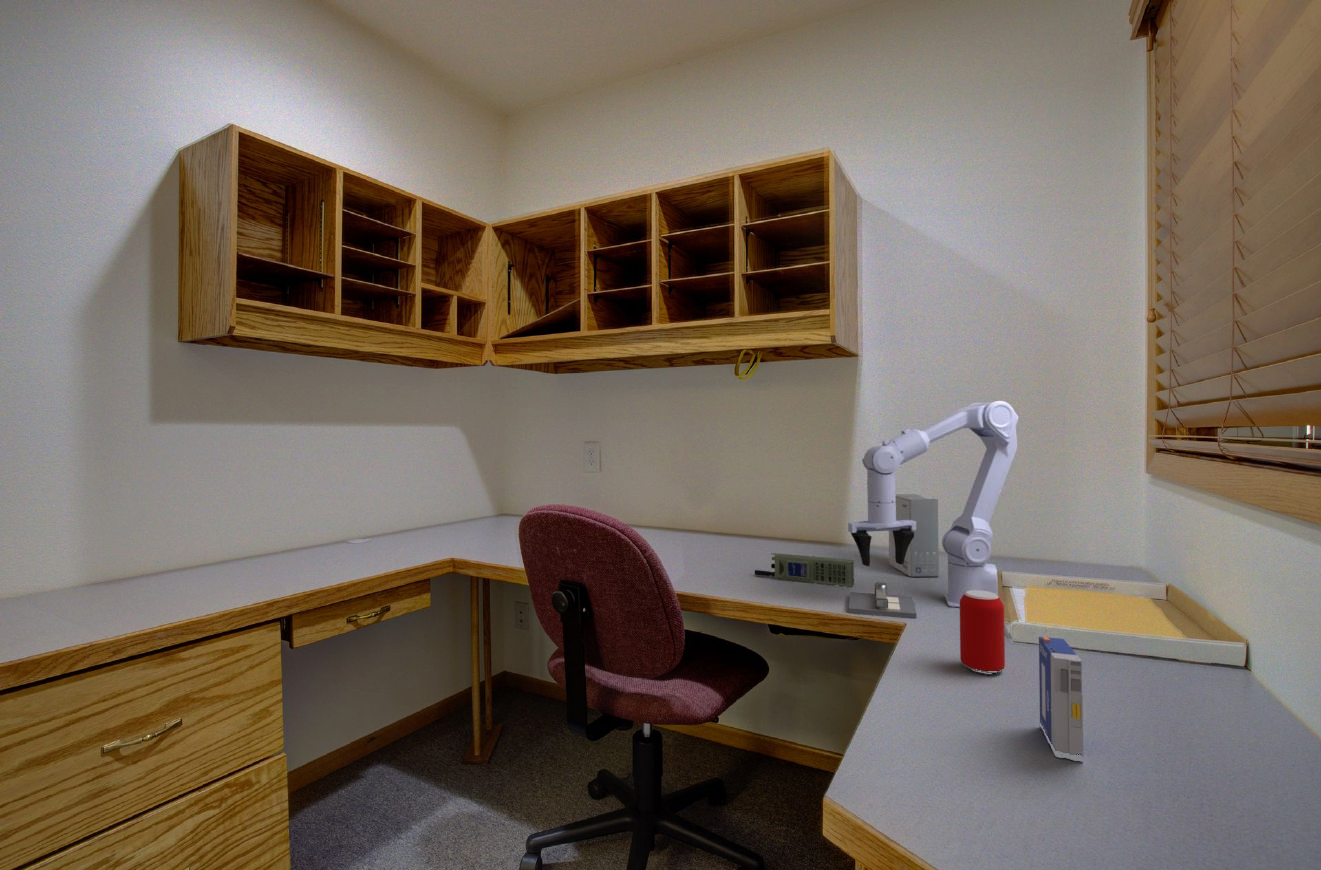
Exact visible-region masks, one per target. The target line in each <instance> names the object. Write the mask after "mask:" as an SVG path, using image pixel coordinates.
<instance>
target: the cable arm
mask: <svg viewBox="0 0 1321 870" xmlns="http://www.w3.org/2000/svg"><path fill="white" fill-rule="evenodd" d="M874 594H876V607H881V608H888V599H887V595H888V584H887V583H886V582H882V581H878V582H877V581H876V582H874Z"/></svg>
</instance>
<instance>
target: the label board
mask: <svg viewBox="0 0 1321 870" xmlns="http://www.w3.org/2000/svg"><path fill="white" fill-rule="evenodd" d="M913 598H914V597H913V596H912V595H897V594H887V599H888V608H881V607H876V594H875V593H871V592H870V593H869V592H858V591H857V592H856V591H850V595H849V601H848V602H849V604H848V614H857V615H866V614H867V615H868V616H869V615H870V616H881V617H892V618H902V619H903V618H904V619H915V618H917V609H916V607H915V602H914V599H913ZM917 619H918V618H917Z"/></svg>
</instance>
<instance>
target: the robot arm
mask: <svg viewBox="0 0 1321 870" xmlns="http://www.w3.org/2000/svg"><path fill="white" fill-rule="evenodd" d="M1018 421H1019V416H1018V414H1017V413H1016V412H1015V409H1014V408H1013V407H1012V405H1011V404H1009V403H1008V402H1006V401H1004V400H996V401H990V402H975V403H974V402H973V403H970V404H969V405H968V406H964V407H961V408H959V409H957V410H955V411H953V412H952V413H950V414H948V415H946V416H943V418H941V419H940V420H937V421H936V422H934V423H932V424H930V425H928V426H927V427H925V428H923V429H921V430H919V429H917V428H911V429H909V428H905V429H902V430H900V431H901V432H900V433H901V434H899V435H897V436H894V437H893V438H891V439H885V440H883V441H881V443H882V445H881V446H878V445H877V446H875V445H874V446H872V447H870V448H869V449H867V450H866V452H865V453H864V456H863V458H862V460H861V461H862V465H863V467H864V468H865V469H866V470H867V471H866V472H867V473H866V475H867V480H866V482H867V483H866V484H867V485H866V486H867V489H866V490H867V520H863V521H855V522H848V523H847V531H848V532H849V533H850V535H851V537H852V539H853V540H854V542H855V544H856V546H857V549H858V553H859V555H860V558H861V564H862V566H865V567H871V565H870V564H871V554H870V553H871V542H872V536H871V535H870V534H869V533H868V532H870V533H871V532H887V531H888V532H889V531H893V536H894V541H895V559H896V563H898V564H901V565H902V564H904V559H905V555H906V552H907V549H908V547H909V544H910V542H911V541H912V539H913V538H914V532H912V531H911V530H916V521H913V520H896V494H897V493H896V471H898V469H899V468H900V466H901V465H903V464H905V463H907V462H909V461H911V460H913V459H915V458H916V457H918V456H921V455H922V454H924V453H927V451H928V449H929V447H930V444H932V443H934V442H936V441H938V440H941V439H942V438H944V437H946V436H949V435H951V434H954V433H955V432H958V431H960V430H961V429H969V430H971V432H973V433H974V434H975V435H976V436H977V437H979V439H980V440H981V441H982V443H983V445H984V446H985V448H986V449H985V452H984V455H983V457H982V461H981V462H980V466H979V468H978V471H977V474H976V476H975V479H974V481H973V483H972V484H973V485H972V487H971V488H970V489H971V490H970V493H969V496H968V497H967V500H966V503H965V505H964V509H963V511H962V513H961V515H960V516H958V517H957V518H956V519H955V520H953V522H952V524H951V526H950V528H949V529H948V530H947V531H946V532H945V533H944V535H943V536H942V539H941V545H942V548H943V550H944V551H945V553H946V554H947V586H948V587H947V590H948V591H947V592H948V593H947V594H944V598H945V600H946V601H945V602H946V604H947V605H948V606H949V607H953V608H960V599H961V598H962V596H963V594H964V593H965V592H967V591H970V590H981V591H988V592H992V593H995V594H996V595H998V596H999V590H998V589H999V585H998V584H999V582H998V569H997V566H996V565H995V564H993V563H986V562H987V561H988V560H989V559H990V557H991V555H992V539H993V537H994V533H993V530H992V528H991V526H990V522H991V519H992V516H993V514H994V511H995V509H996V506H997V504H998V501H999V498H1000V494H1001V493H1002V489H1003V486H1004V485H1005V481H1006V479H1007V476H1008V474H1009V471H1010V468H1011V466H1012V463H1013V461H1014V458H1015V455H1016V453H1017V449H1018V436H1017V424H1018Z"/></svg>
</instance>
